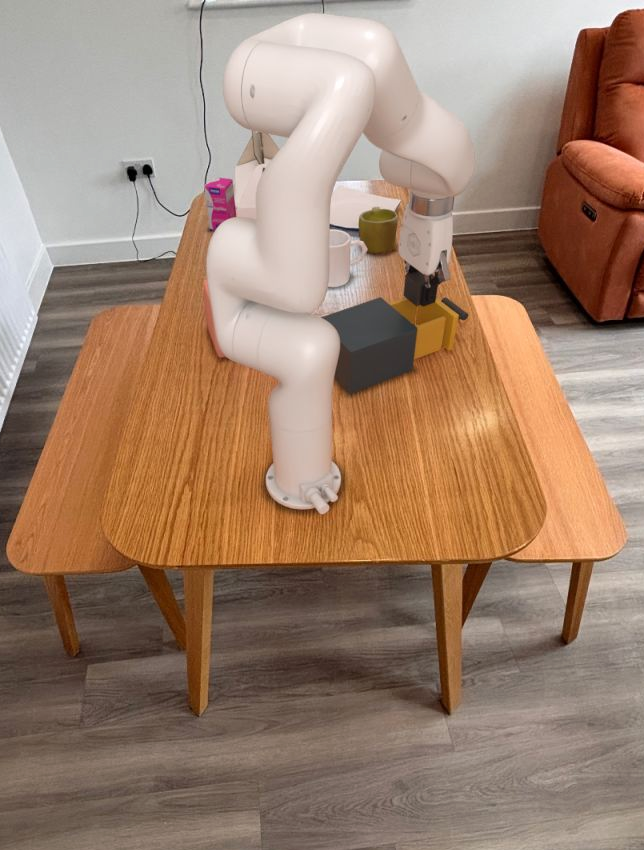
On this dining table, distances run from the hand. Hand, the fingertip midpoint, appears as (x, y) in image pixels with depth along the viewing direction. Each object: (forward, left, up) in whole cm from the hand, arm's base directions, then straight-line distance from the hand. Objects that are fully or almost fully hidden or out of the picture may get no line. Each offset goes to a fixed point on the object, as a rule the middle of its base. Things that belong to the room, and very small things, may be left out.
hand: (419, 296), depth 123 cm
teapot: (+20, +26, -12) cm, 35 cm away
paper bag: (+48, +9, -12) cm, 50 cm away
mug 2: (+40, -17, -12) cm, 45 cm away
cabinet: (0, +12, -11) cm, 17 cm away
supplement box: (+69, +12, -12) cm, 71 cm away
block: (0, 0, 0) cm, 0 cm away
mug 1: (+31, -1, -12) cm, 33 cm away
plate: (+56, -20, -12) cm, 61 cm away
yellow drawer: (0, -1, -11) cm, 11 cm away
